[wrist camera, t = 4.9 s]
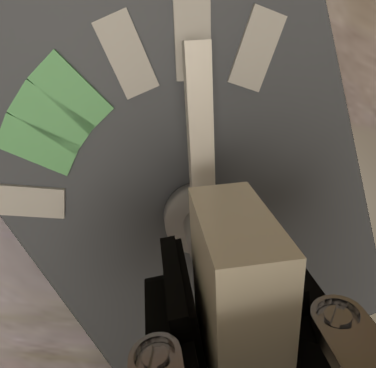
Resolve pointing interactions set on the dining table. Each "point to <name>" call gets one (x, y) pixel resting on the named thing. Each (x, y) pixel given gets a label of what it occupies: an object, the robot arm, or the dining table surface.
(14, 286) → the dining table surface
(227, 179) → the tuner board
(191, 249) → the beige block on stand
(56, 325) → the dining table surface
